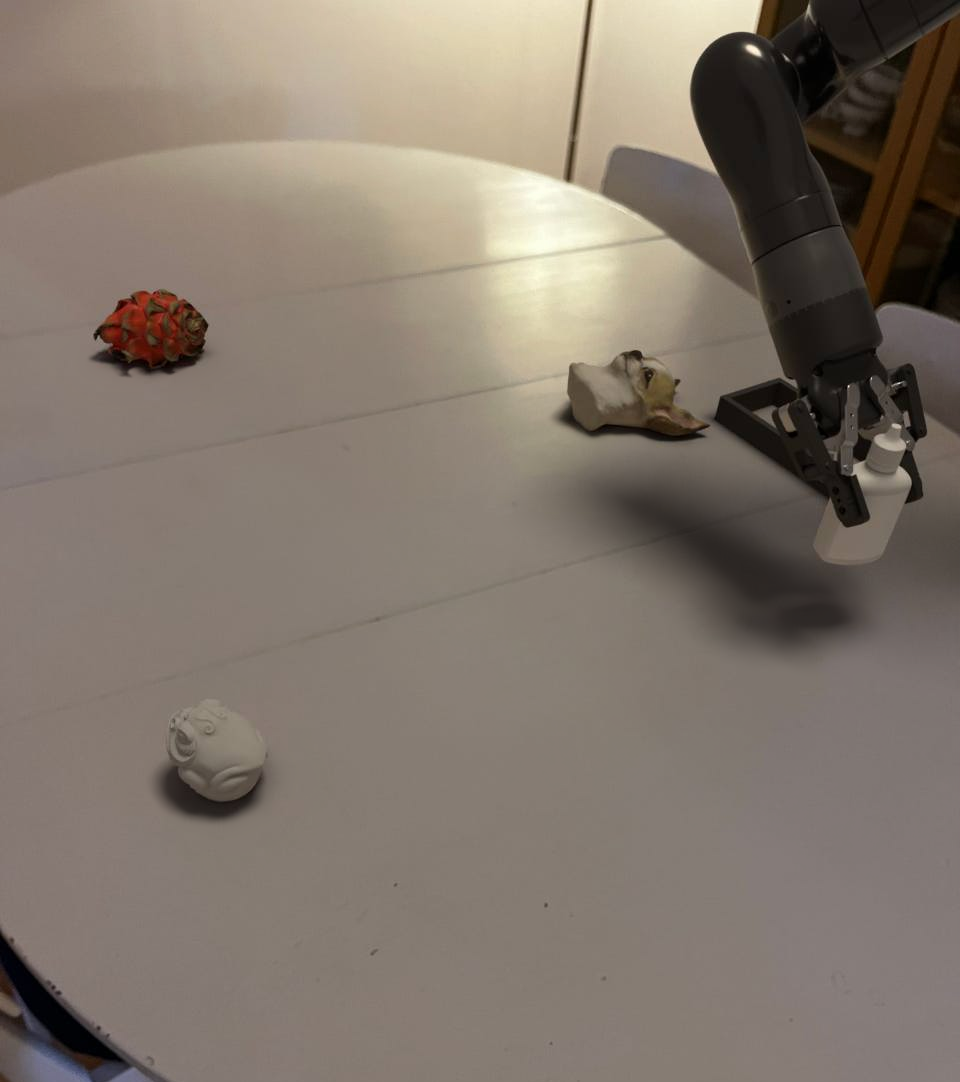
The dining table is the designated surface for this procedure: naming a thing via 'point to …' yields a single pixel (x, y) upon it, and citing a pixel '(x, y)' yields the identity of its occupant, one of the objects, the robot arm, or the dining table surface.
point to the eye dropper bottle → (869, 505)
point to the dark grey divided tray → (763, 435)
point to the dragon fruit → (153, 328)
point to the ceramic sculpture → (628, 395)
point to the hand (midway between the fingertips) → (884, 512)
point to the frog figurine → (215, 750)
